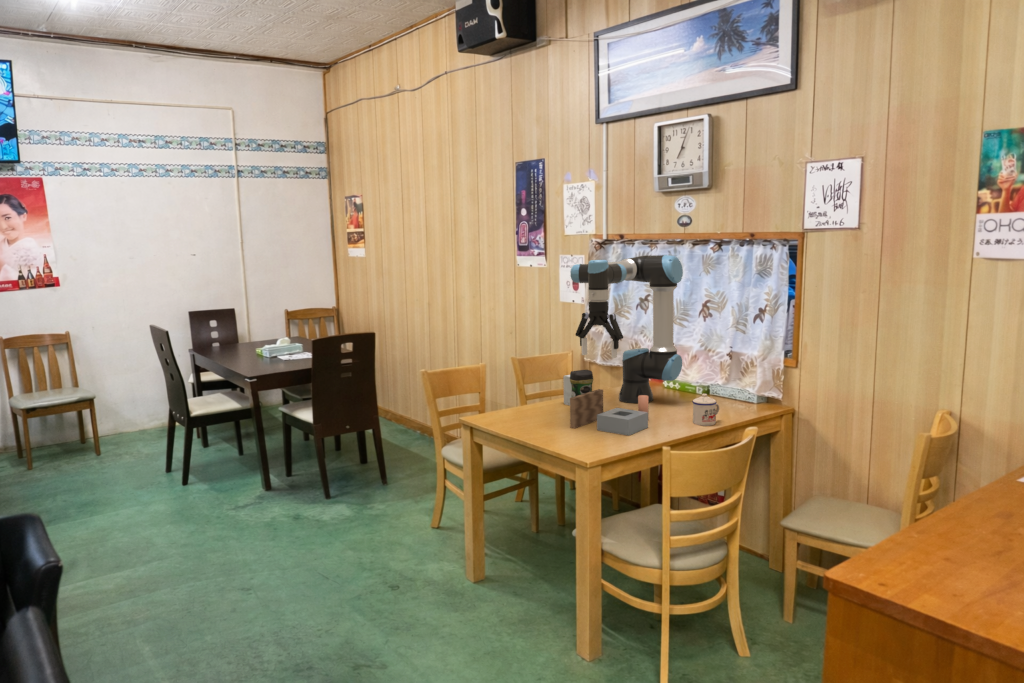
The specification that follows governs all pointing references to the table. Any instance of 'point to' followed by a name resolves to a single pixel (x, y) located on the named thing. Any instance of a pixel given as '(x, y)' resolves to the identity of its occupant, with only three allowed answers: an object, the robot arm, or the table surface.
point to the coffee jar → (581, 382)
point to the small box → (567, 389)
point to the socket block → (622, 421)
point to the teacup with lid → (705, 410)
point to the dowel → (643, 403)
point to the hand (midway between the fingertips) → (599, 356)
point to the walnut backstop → (585, 408)
